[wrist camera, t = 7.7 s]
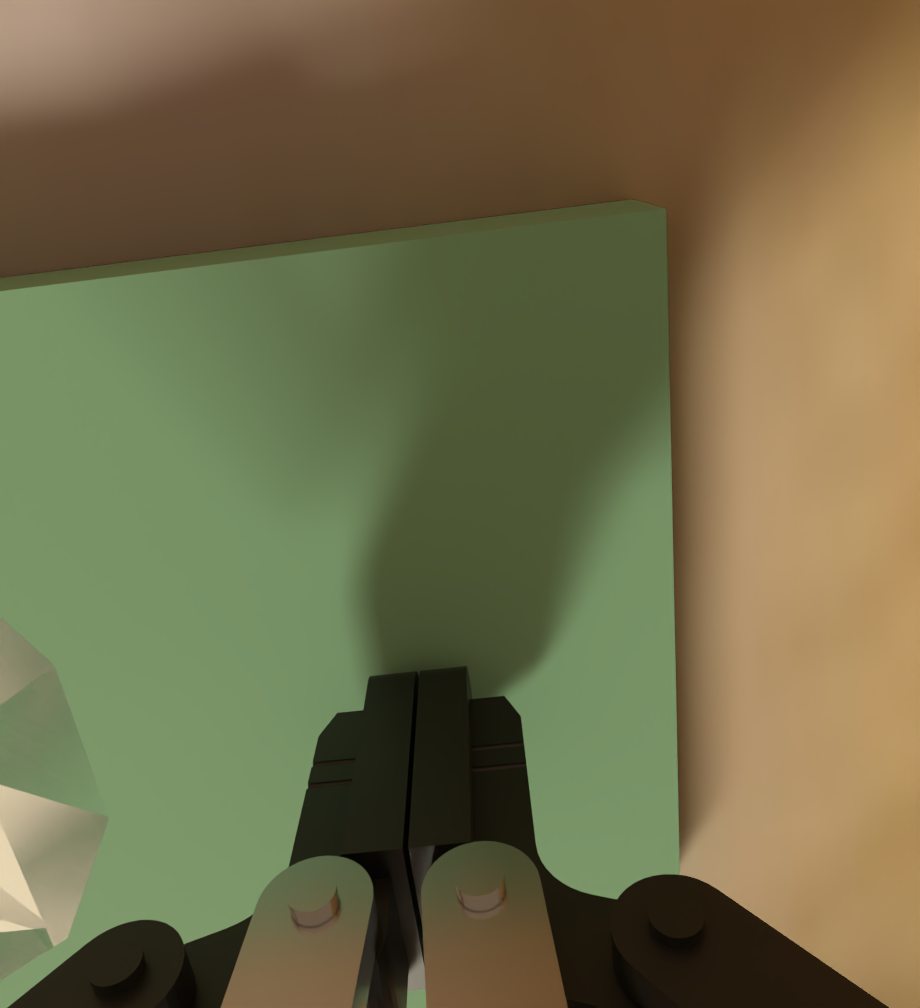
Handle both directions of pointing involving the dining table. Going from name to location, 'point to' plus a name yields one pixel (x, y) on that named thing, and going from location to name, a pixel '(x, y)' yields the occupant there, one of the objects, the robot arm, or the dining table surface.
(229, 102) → the dining table surface
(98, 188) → the dining table surface
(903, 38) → the dining table surface
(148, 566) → the green flat block
